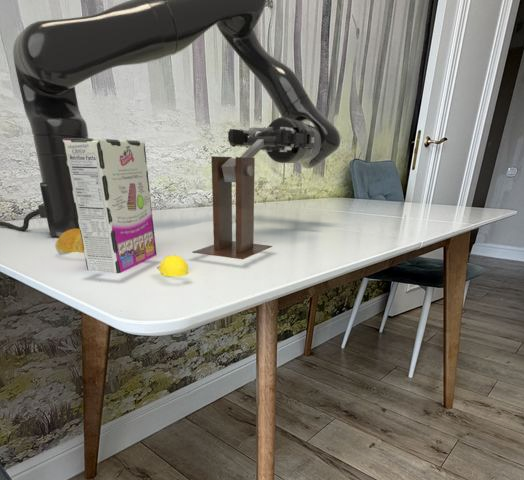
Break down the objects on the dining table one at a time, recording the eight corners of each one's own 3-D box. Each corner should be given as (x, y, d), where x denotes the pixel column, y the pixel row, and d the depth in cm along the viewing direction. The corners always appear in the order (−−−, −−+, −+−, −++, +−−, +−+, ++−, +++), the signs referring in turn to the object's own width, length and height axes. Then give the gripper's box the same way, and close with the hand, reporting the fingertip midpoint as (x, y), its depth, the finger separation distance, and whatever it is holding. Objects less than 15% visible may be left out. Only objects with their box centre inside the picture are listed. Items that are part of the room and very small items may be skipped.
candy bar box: (128, 260, 61) (113, 140, 54) (158, 262, 60) (147, 141, 53) (85, 279, 51) (59, 136, 44) (120, 282, 50) (100, 136, 43)
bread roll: (104, 261, 60) (100, 234, 58) (49, 258, 60) (43, 231, 59) (128, 250, 67) (125, 226, 65) (78, 247, 68) (74, 223, 66)
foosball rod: (251, 146, 68) (249, 131, 66) (278, 147, 66) (276, 131, 64) (216, 181, 60) (213, 165, 58) (245, 183, 58) (242, 166, 57)
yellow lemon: (178, 286, 49) (164, 260, 47) (155, 289, 53) (141, 265, 52) (197, 274, 51) (184, 248, 49) (173, 277, 55) (161, 254, 54)
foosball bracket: (226, 247, 71) (225, 156, 65) (272, 253, 68) (275, 158, 61) (192, 259, 62) (186, 155, 56) (242, 267, 59) (243, 157, 52)
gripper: (258, 119, 77) (215, 110, 64) (328, 118, 72) (297, 108, 59) (257, 161, 80) (216, 161, 67) (324, 164, 75) (294, 164, 62)
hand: (254, 136), depth 63 cm, fingers open, 8 cm apart
